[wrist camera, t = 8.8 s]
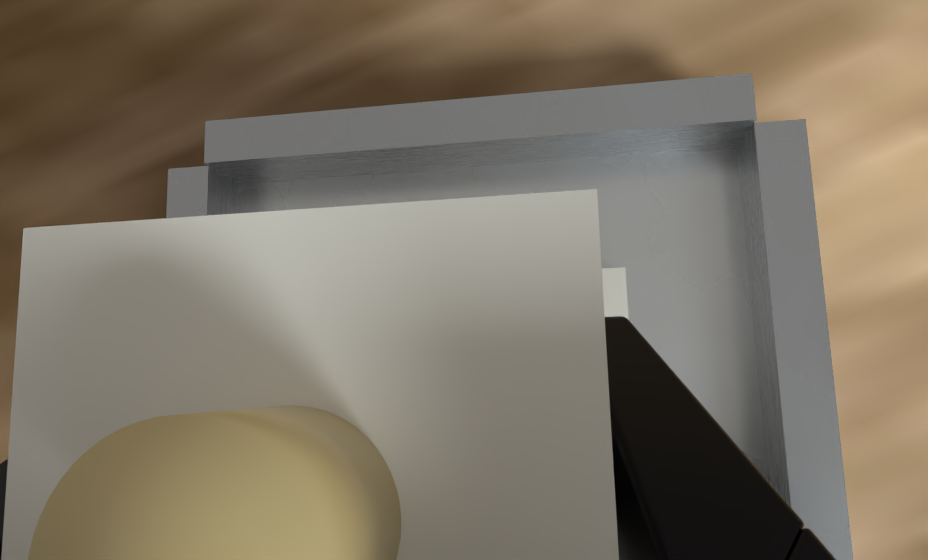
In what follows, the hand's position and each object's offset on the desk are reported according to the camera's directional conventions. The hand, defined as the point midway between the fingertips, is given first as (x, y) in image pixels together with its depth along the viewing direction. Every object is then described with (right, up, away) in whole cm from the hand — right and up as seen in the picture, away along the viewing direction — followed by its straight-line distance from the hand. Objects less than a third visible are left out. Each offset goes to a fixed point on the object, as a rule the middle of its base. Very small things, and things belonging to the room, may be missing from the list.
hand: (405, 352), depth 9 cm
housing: (+1, -2, +7) cm, 8 cm away
